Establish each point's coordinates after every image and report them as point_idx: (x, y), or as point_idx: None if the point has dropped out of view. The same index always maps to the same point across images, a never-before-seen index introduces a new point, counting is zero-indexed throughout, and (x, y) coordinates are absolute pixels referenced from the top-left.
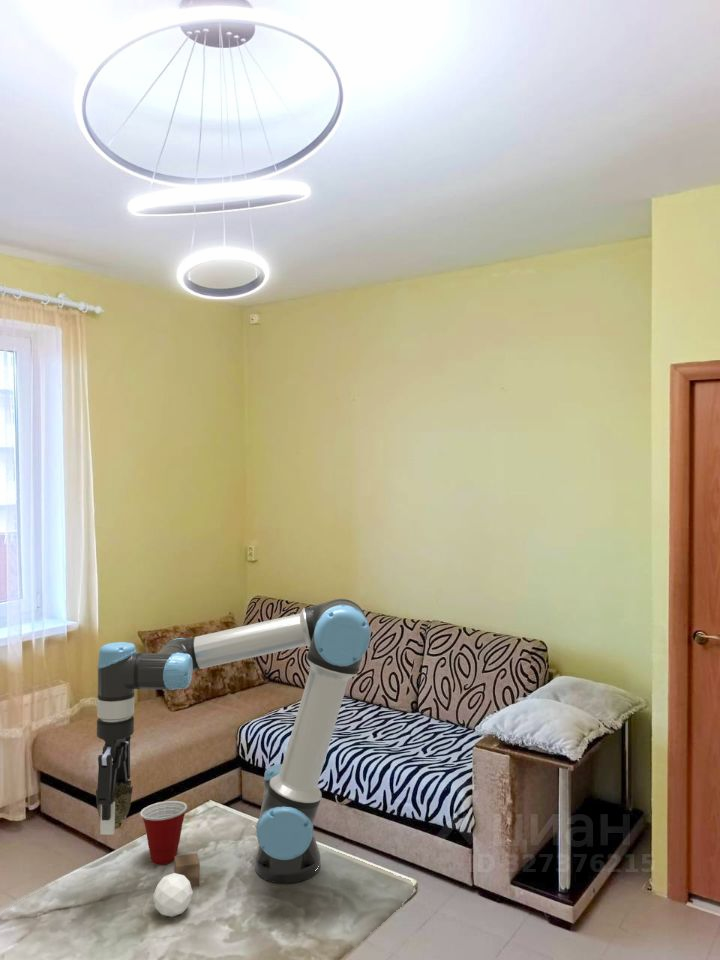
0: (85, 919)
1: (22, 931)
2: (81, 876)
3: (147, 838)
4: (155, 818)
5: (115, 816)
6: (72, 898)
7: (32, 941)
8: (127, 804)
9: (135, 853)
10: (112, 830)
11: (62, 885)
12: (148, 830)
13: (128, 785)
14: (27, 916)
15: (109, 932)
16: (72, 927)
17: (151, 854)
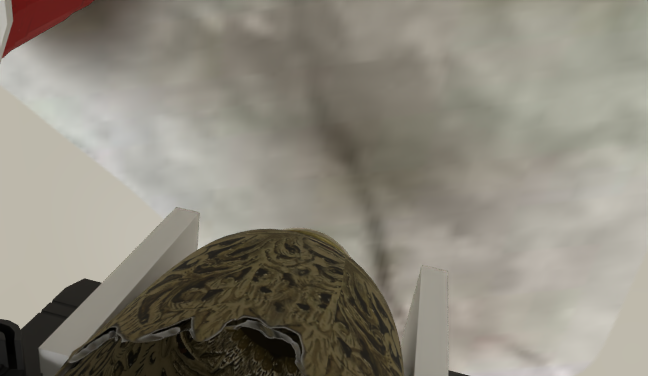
0: (468, 196)
1: (489, 357)
2: None
3: (39, 33)
4: (3, 2)
5: (396, 331)
6: None
7: (555, 329)
8: (328, 292)
9: (36, 72)
10: (446, 293)
11: None
12: (27, 35)
13: (22, 341)
14: None
15: (582, 105)
16: (508, 230)
17: (85, 3)
